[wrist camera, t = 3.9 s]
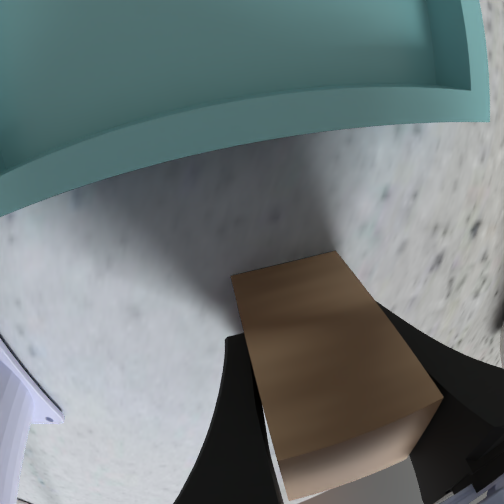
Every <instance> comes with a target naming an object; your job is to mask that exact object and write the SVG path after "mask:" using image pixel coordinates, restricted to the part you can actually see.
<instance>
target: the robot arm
mask: <svg viewBox="0 0 504 504" xmlns="http://www.w3.org/2000/svg"><path fill="white" fill-rule="evenodd" d="M376 303H377V304H378V305H379V307H380V308H381V309H382V311H383V312H384V313H385V315H386V316H387V317H388V319H389V320H390V321H391V323H392V324H393V325H394V327H395V328H396V330H397V331H398V332H399V334H400V335H401V336H402V338H403V339H404V341H405V342H406V343H407V345H408V346H409V348H410V349H411V350H412V352H413V353H414V355H415V356H416V357H417V359H418V360H419V362H420V363H421V365H422V366H423V367H424V369H425V370H426V372H427V373H428V375H429V376H430V378H431V379H432V380H433V382H434V383H435V385H436V386H437V388H438V389H439V391H440V392H441V394H442V395H443V397H444V398H443V400H442V401H441V403H440V405H439V407H438V409H437V411H436V412H435V414H434V416H433V418H432V419H431V421H430V423H429V424H428V426H427V428H426V429H425V431H424V433H423V434H422V436H421V437H420V439H419V441H418V442H417V444H416V445H415V447H414V448H413V450H412V451H411V453H410V454H409V455H410V458H411V461H412V464H413V467H414V470H415V473H416V477H417V480H418V484H419V488H420V492H421V496H422V500H423V502H424V504H436V503H438V502H439V501H441V500H443V499H444V498H446V497H448V496H449V495H451V494H454V495H453V496H452V497H450V498H448V499H447V500H445V501H443V502H441V503H440V504H469V503H470V502H471V501H473V500H474V499H476V498H477V497H479V496H480V495H482V494H483V493H484V492H486V491H487V490H488V492H487V497H486V498H485V499H483V500H482V501H480V502H479V503H477V504H504V369H503V368H500V367H496V366H493V365H490V364H487V363H484V362H482V361H479V360H476V359H474V358H471V357H469V356H466V355H464V354H462V353H460V352H458V351H456V350H453V349H451V348H449V347H447V346H445V345H443V344H442V343H440V342H438V341H436V340H435V339H433V338H431V337H429V336H428V335H426V334H424V333H423V332H421V331H419V330H418V329H416V328H415V327H413V326H412V325H410V324H409V323H407V322H406V321H404V320H403V319H401V318H400V317H398V316H397V315H395V314H394V313H392V312H391V311H389V310H388V309H387V308H385V307H384V306H382V305H381V304H379V303H378V302H376ZM64 419H65V416H64V414H63V413H62V412H61V411H60V410H59V409H58V408H57V407H56V406H55V405H54V404H53V403H52V402H51V401H50V399H49V398H48V397H47V396H46V395H45V394H44V393H43V392H42V390H41V389H40V388H39V387H38V386H37V385H36V384H35V382H34V381H33V380H32V379H31V378H30V376H29V375H28V374H27V373H26V372H25V370H24V369H23V368H22V367H21V365H20V364H19V363H18V361H17V360H16V359H15V358H14V356H13V355H12V354H11V352H10V351H9V350H8V348H7V347H6V345H5V344H4V343H3V341H2V340H1V338H0V504H16V503H17V495H18V487H19V481H20V474H21V468H22V463H23V457H24V452H25V447H26V443H27V438H28V434H29V429H30V425H31V424H61V423H63V422H64ZM173 504H284V503H283V499H282V496H281V492H280V489H279V485H278V481H277V478H276V474H275V471H274V467H273V463H272V459H271V455H270V450H269V445H268V439H267V433H266V426H265V420H264V413H263V407H262V401H261V398H260V394H259V390H258V386H257V382H256V378H255V374H254V370H253V366H252V362H251V359H250V355H249V351H248V347H247V342H246V338H245V334H244V333H242V334H238V335H233V336H229V337H227V338H226V339H225V357H224V366H223V373H222V378H221V384H220V389H219V394H218V398H217V402H216V406H215V410H214V414H213V417H212V420H211V424H210V427H209V430H208V432H207V435H206V438H205V441H204V443H203V446H202V448H201V451H200V453H199V456H198V458H197V460H196V463H195V465H194V467H193V469H192V471H191V473H190V475H189V477H188V479H187V481H186V483H185V484H184V486H183V488H182V490H181V492H180V494H179V495H178V497H177V499H176V500H175V502H174V503H173Z"/></svg>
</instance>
